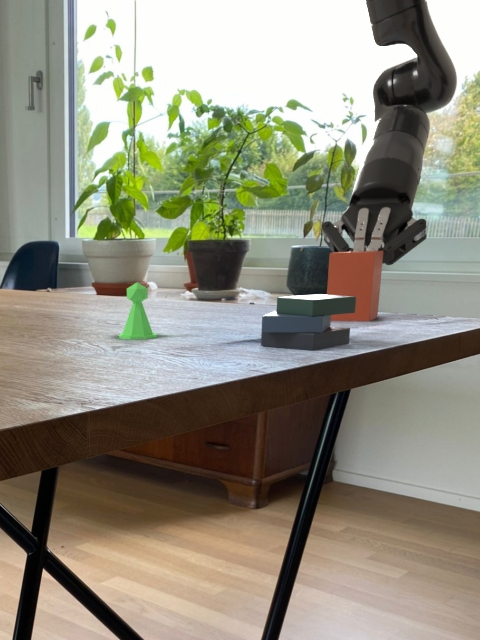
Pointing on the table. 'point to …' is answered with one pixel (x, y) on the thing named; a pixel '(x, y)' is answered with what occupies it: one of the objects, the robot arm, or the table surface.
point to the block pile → (307, 322)
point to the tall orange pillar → (356, 282)
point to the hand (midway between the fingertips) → (358, 286)
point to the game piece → (137, 315)
